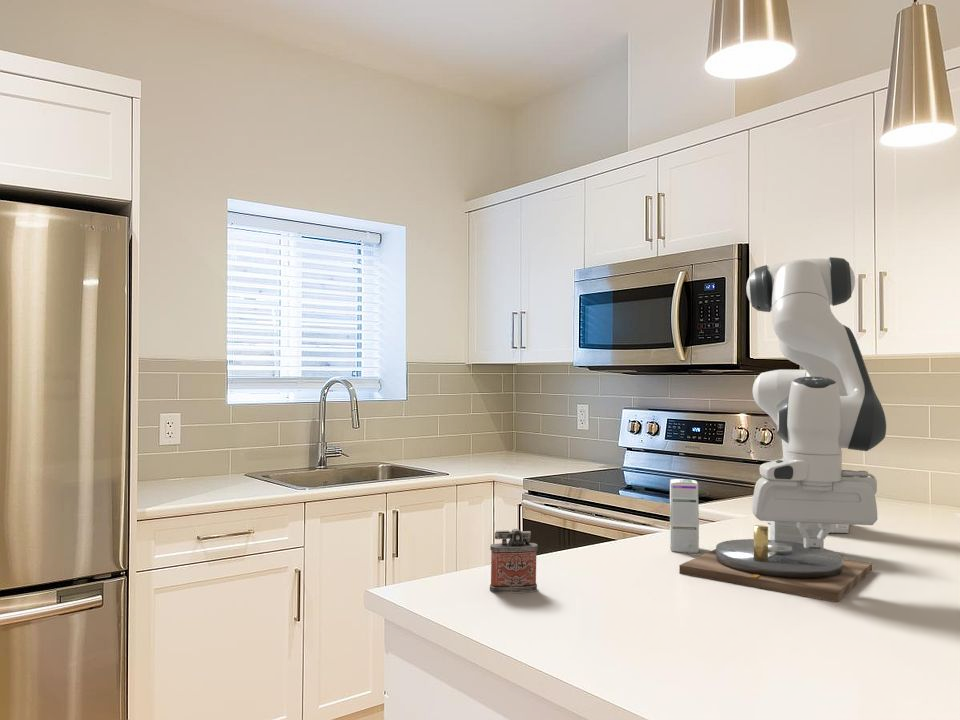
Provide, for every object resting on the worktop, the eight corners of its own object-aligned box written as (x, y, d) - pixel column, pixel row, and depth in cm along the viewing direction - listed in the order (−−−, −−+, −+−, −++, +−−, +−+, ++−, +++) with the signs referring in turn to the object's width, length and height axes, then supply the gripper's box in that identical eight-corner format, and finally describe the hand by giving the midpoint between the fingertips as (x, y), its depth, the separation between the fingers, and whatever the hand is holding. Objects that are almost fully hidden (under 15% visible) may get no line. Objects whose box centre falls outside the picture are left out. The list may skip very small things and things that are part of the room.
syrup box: (699, 553, 155) (700, 482, 156) (669, 551, 156) (670, 481, 157) (697, 547, 161) (697, 479, 161) (668, 545, 162) (669, 478, 162)
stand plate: (731, 549, 160) (731, 541, 160) (872, 570, 143) (872, 561, 143) (679, 573, 139) (679, 563, 139) (837, 602, 122) (837, 591, 122)
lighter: (533, 586, 128) (534, 527, 128) (539, 591, 125) (540, 531, 125) (487, 588, 126) (488, 528, 127) (492, 593, 123) (493, 532, 123)
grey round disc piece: (739, 544, 156) (740, 505, 157) (855, 561, 143) (855, 519, 143) (697, 563, 139) (698, 519, 139) (824, 585, 125) (824, 536, 126)
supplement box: (769, 543, 166) (770, 467, 166) (814, 547, 163) (815, 469, 164) (773, 553, 157) (774, 472, 157) (821, 557, 154) (822, 474, 155)
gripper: (870, 468, 134) (869, 547, 133) (750, 465, 137) (749, 541, 136) (883, 473, 128) (883, 555, 127) (758, 469, 130) (757, 549, 130)
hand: (813, 548), depth 132 cm, fingers closed
